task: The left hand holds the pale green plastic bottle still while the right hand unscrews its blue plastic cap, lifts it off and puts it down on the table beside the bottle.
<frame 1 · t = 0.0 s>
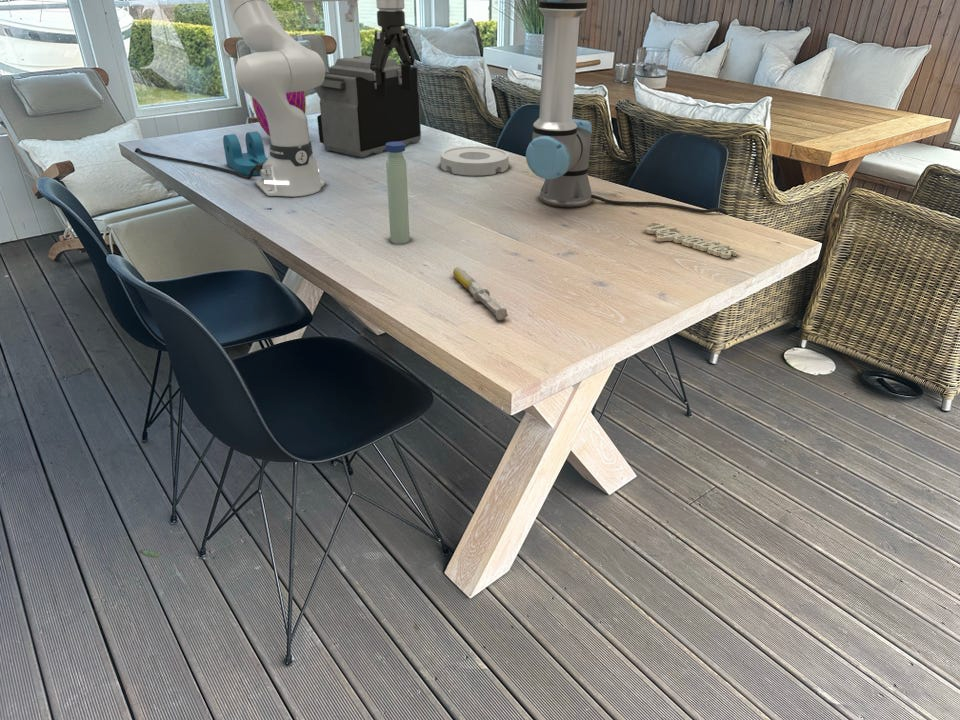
left hand: (332, 22, 165), 48 cm above the table, tool pointing down, fingers open, 8 cm apart
right hand: (394, 93, 197), 28 cm above the table, tool pointing down, fingers open, 13 cm apart
decorative sign: (685, 243, 174), on the table
decorative egg: (284, 140, 265), on the table
bottle: (400, 240, 173), on the table
camera mount: (251, 168, 229), on the table
cap: (395, 145, 161), point 24 cm above the table, screwed on, not yet turned
syringe: (478, 297, 145), on the table
ashtray: (474, 166, 235), on the table
electronic device: (371, 146, 258), on the table
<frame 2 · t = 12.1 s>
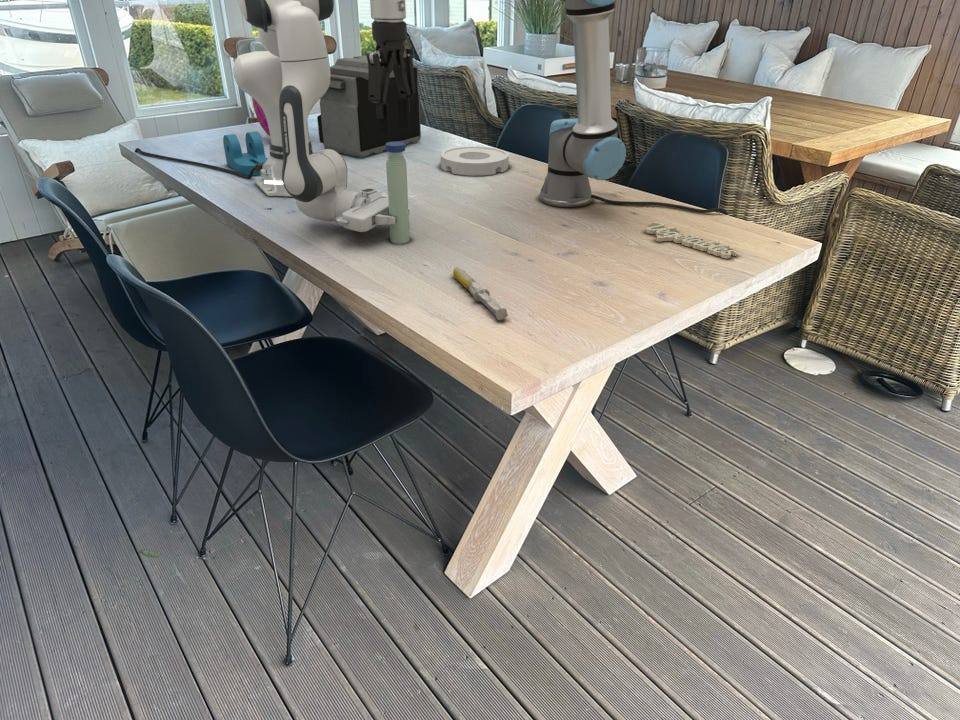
left hand: (402, 216, 170), 6 cm above the table, tool horizontal, fingers closed on bottle, 5 cm apart
right hand: (394, 130, 160), 27 cm above the table, tool pointing down, fingers open, 7 cm apart
bottle: (400, 240, 173), on the table, touching left hand
everything else where it was.
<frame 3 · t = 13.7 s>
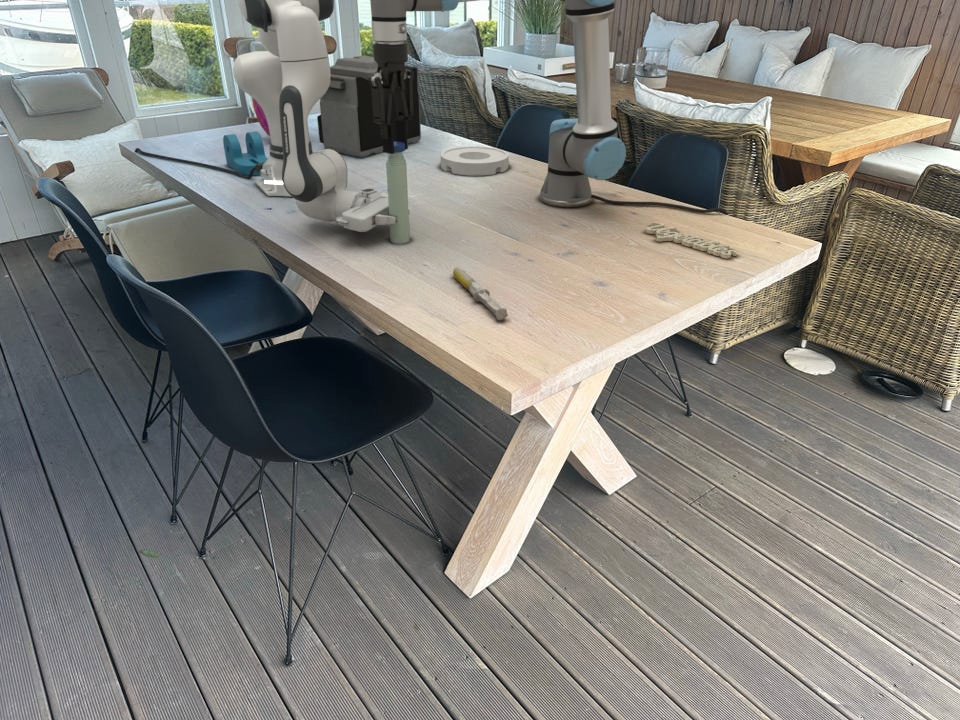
left hand: (402, 216, 170), 6 cm above the table, tool horizontal, fingers closed on bottle, 5 cm apart
right hand: (395, 150, 162), 22 cm above the table, tool pointing down, fingers closed on cap, 4 cm apart
bottle: (400, 240, 173), on the table, touching left hand
cap: (395, 145, 161), point 24 cm above the table, screwed on, not yet turned, touching right hand
everything else where it was.
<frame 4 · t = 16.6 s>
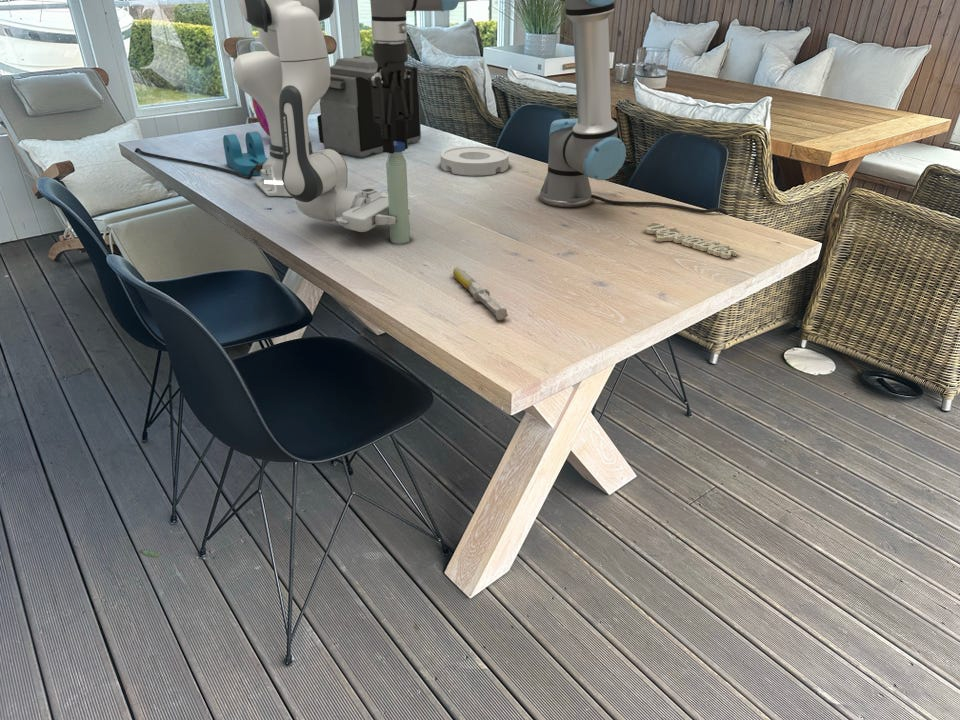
left hand: (402, 216, 170), 6 cm above the table, tool horizontal, fingers closed on bottle, 5 cm apart
right hand: (395, 150, 162), 22 cm above the table, tool pointing down, fingers closed on cap, 4 cm apart
bottle: (400, 240, 173), on the table, touching left hand
cap: (395, 144, 161), point 24 cm above the table, turned 86° so far, risen 0.1 cm, still on its thread, touching right hand
everything else where it was.
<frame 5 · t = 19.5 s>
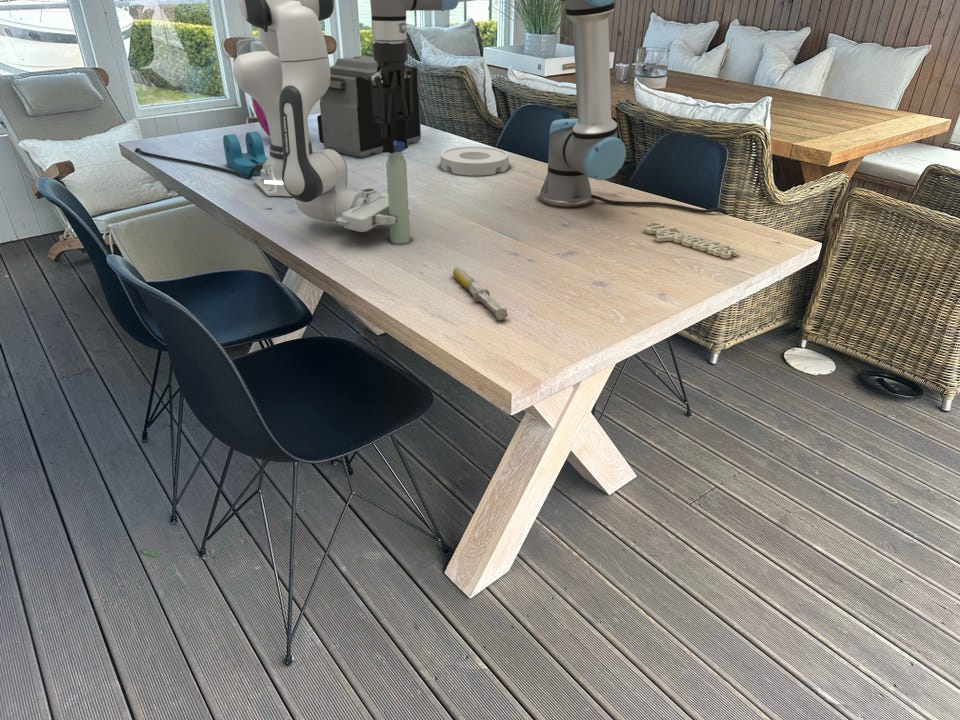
left hand: (402, 216, 170), 6 cm above the table, tool horizontal, fingers closed on bottle, 5 cm apart
right hand: (395, 149, 162), 23 cm above the table, tool pointing down, fingers closed on cap, 4 cm apart
bottle: (400, 240, 173), on the table, touching left hand
cap: (395, 144, 161), point 24 cm above the table, turned 171° so far, risen 0.1 cm, still on its thread, touching right hand
everything else where it was.
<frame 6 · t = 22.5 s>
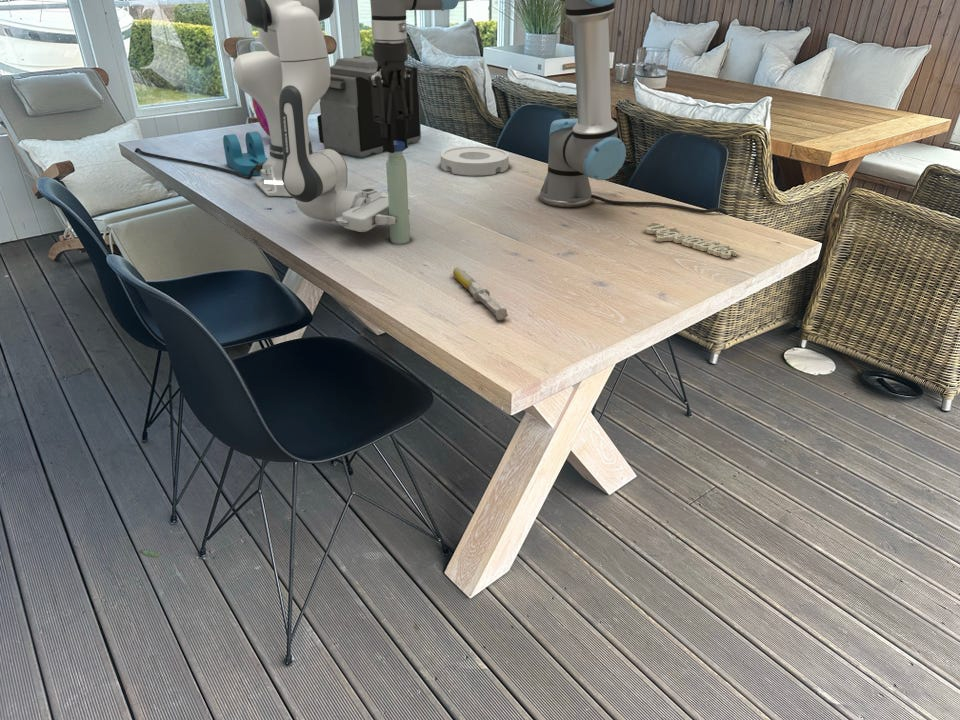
left hand: (402, 216, 170), 6 cm above the table, tool horizontal, fingers closed on bottle, 5 cm apart
right hand: (395, 149, 162), 23 cm above the table, tool pointing down, fingers closed on cap, 4 cm apart
bottle: (400, 240, 173), on the table, touching left hand
cap: (395, 144, 161), point 24 cm above the table, turned 257° so far, risen 0.2 cm, still on its thread, touching right hand
everything else where it was.
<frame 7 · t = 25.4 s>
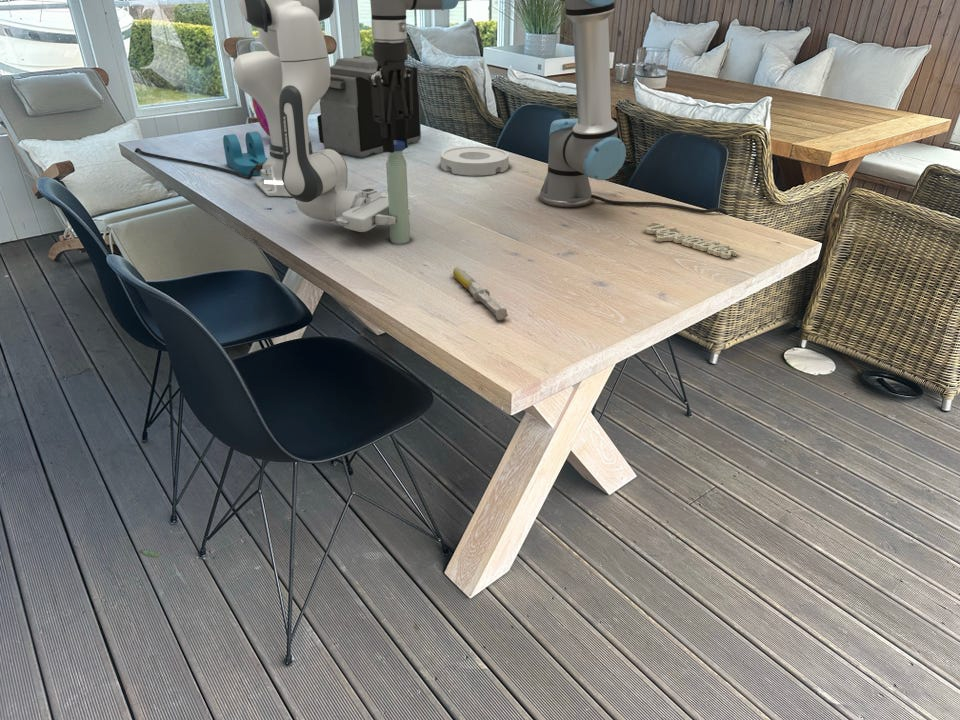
left hand: (402, 216, 170), 6 cm above the table, tool horizontal, fingers closed on bottle, 5 cm apart
right hand: (395, 149, 162), 23 cm above the table, tool pointing down, fingers closed on cap, 4 cm apart
bottle: (400, 240, 173), on the table, touching left hand
cap: (395, 143, 161), point 24 cm above the table, turned 342° so far, risen 0.3 cm, still on its thread, touching right hand
everything else where it was.
when the right hand's fingers open (2 cm above the table, at t = 31.8 s): cap drops 2 cm, point 1 cm above the table.
when the left hand's fingers open (6 cm above the table, at t = 33.1 s): bottle stays where it is, on the table.
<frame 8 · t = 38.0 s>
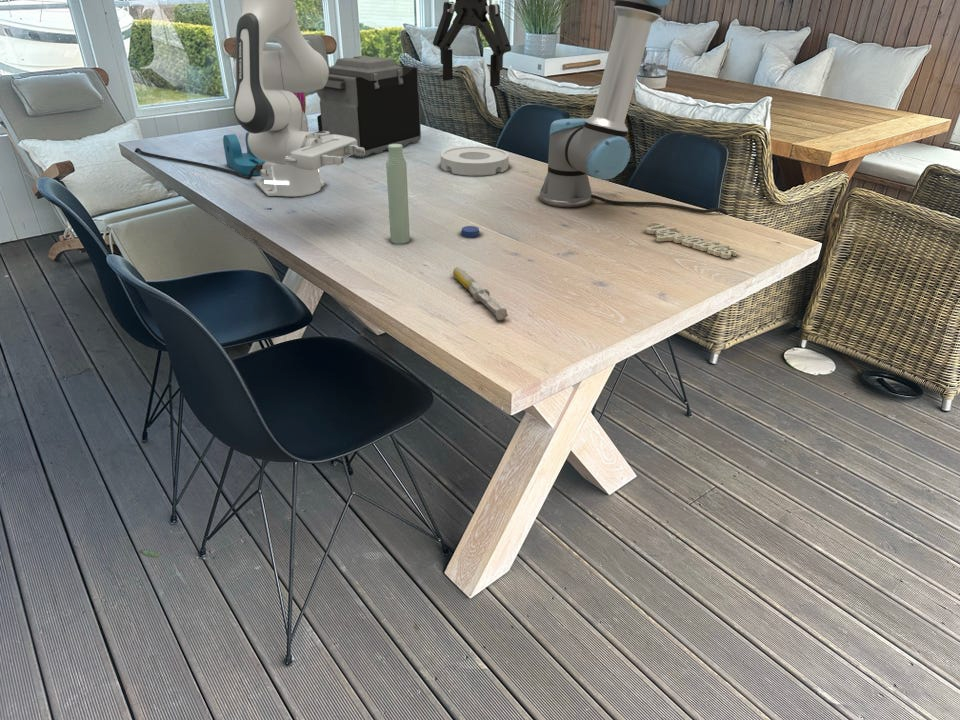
left hand: (352, 156, 168), 20 cm above the table, tool horizontal, fingers open, 8 cm apart
right hand: (470, 82, 159), 37 cm above the table, tool pointing down, fingers open, 13 cm apart
bottle: (400, 240, 173), on the table
cap: (470, 229, 177), point 1 cm above the table, off its thread
everything else where it was.
at the end: cap came off its thread; cap point 1.3 cm above the table; the left hand is holding nothing; the right hand is holding nothing; bottle tilted 0°; bottle moved 0.0 cm from its start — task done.
